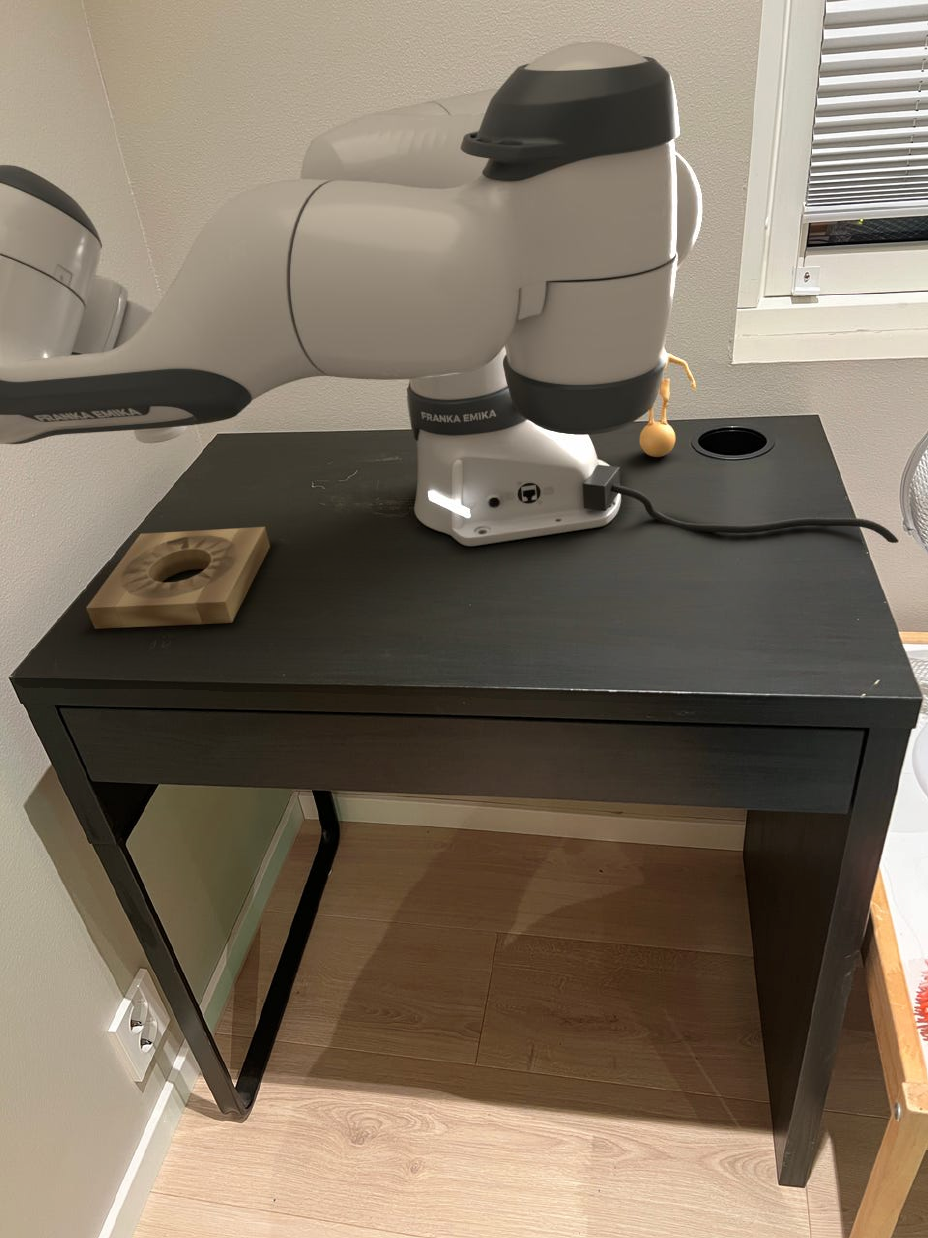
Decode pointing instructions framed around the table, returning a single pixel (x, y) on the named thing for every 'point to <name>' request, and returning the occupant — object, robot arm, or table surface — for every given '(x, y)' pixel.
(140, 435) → the chess pawn
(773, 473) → the table surface
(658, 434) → the figurine
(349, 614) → the table surface
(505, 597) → the table surface
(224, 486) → the table surface
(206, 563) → the socket pad
